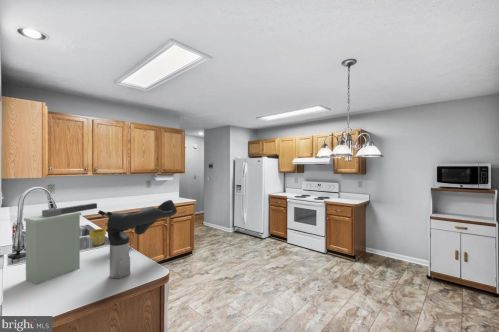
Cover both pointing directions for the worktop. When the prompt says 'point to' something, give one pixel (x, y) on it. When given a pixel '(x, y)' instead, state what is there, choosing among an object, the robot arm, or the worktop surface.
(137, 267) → the worktop surface
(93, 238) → the plant pot
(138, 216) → the robot arm
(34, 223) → the tall capped green box
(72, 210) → the long gray t-shaped bar
